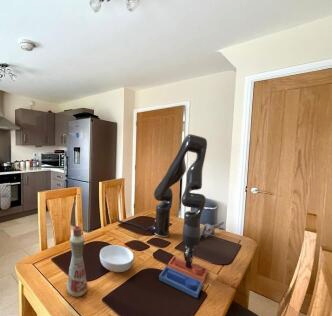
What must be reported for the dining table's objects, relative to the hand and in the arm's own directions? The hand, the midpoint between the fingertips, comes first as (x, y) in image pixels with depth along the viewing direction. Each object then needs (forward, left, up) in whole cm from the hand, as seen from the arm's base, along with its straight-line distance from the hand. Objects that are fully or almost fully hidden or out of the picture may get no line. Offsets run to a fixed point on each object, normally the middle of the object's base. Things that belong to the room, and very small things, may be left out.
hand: (188, 266), depth 97 cm
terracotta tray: (-1, 0, -2) cm, 2 cm away
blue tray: (-1, -12, -2) cm, 12 cm away
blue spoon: (0, -12, -2) cm, 12 cm away
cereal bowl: (-29, -22, -2) cm, 36 cm away
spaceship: (0, +51, -2) cm, 51 cm away
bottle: (-33, -46, -2) cm, 56 cm away
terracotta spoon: (0, 0, -1) cm, 1 cm away
